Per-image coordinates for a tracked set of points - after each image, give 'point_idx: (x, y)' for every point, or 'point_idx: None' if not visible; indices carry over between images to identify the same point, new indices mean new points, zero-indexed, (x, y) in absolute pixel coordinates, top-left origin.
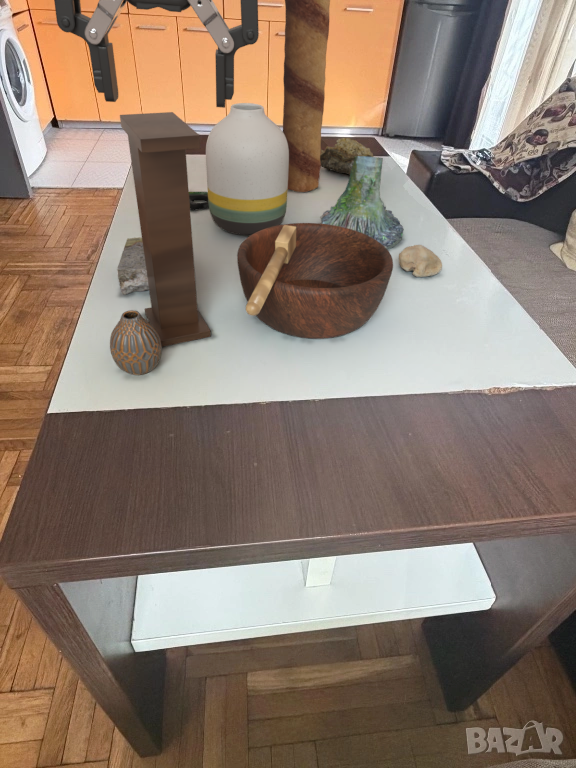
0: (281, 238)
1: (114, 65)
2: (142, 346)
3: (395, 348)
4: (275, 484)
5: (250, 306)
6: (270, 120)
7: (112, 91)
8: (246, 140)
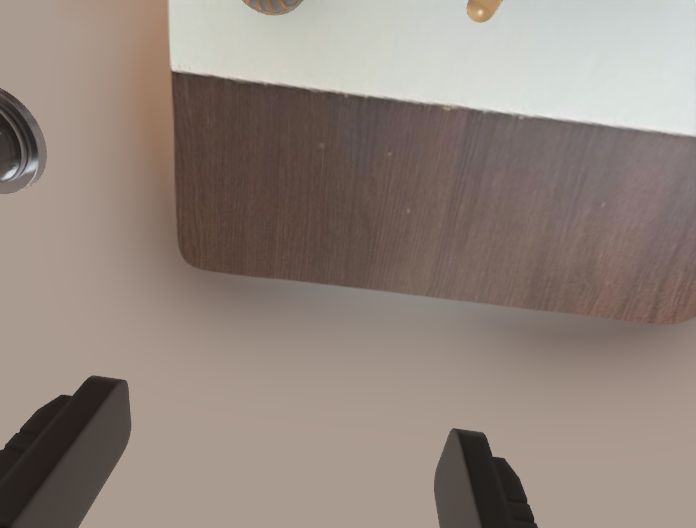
0: None
1: (69, 456)
2: (280, 4)
3: None
4: (421, 240)
5: (476, 14)
6: None
7: (114, 464)
8: None
